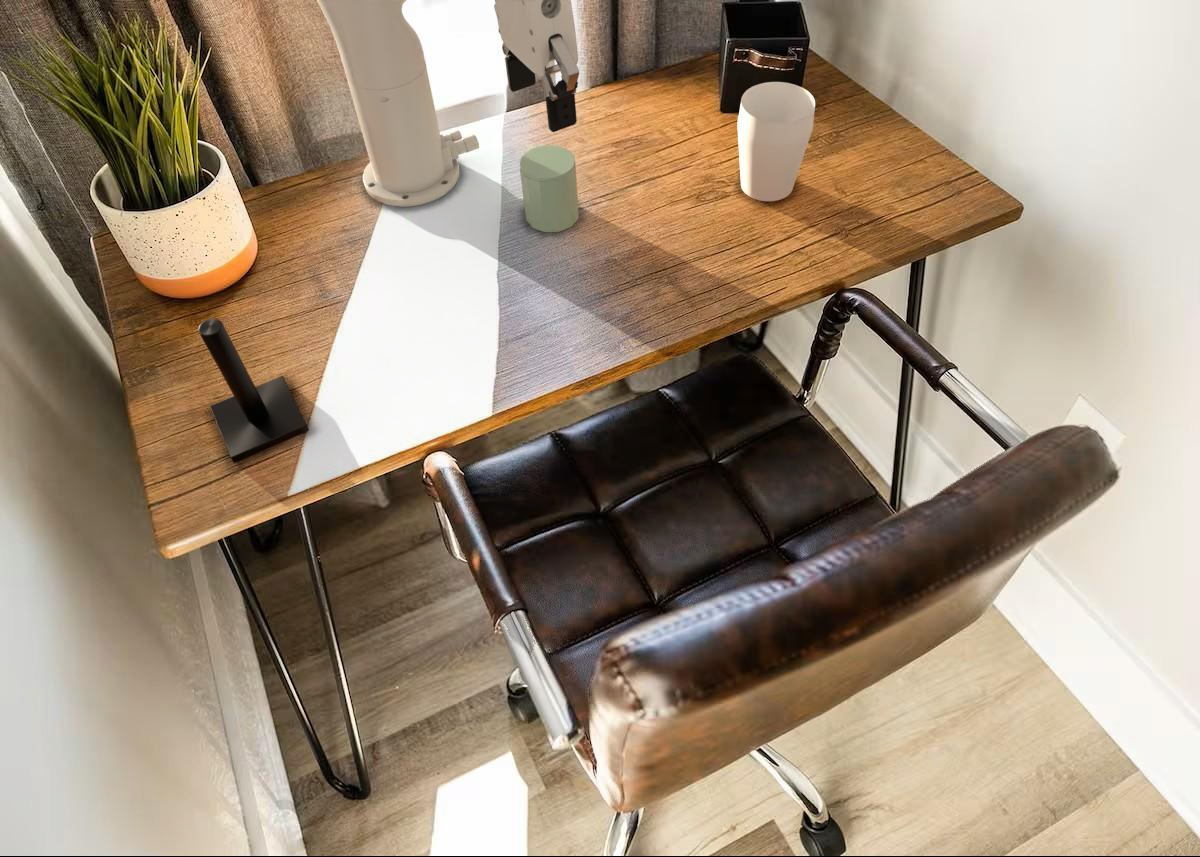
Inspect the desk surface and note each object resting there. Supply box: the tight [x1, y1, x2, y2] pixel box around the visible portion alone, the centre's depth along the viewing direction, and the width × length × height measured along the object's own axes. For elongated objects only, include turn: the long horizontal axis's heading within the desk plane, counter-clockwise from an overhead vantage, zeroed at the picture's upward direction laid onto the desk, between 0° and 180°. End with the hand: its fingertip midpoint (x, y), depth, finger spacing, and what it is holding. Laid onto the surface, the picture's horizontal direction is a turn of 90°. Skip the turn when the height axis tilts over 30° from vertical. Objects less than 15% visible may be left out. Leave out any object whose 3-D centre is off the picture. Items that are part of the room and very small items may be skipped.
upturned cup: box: [519, 144, 580, 233], centre depth 110 cm, size 7×7×8 cm
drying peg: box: [197, 318, 310, 464], centre depth 88 cm, size 8×8×14 cm
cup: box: [736, 81, 816, 202], centre depth 110 cm, size 9×9×12 cm
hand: (542, 106), depth 100 cm, fingers open, 9 cm apart
